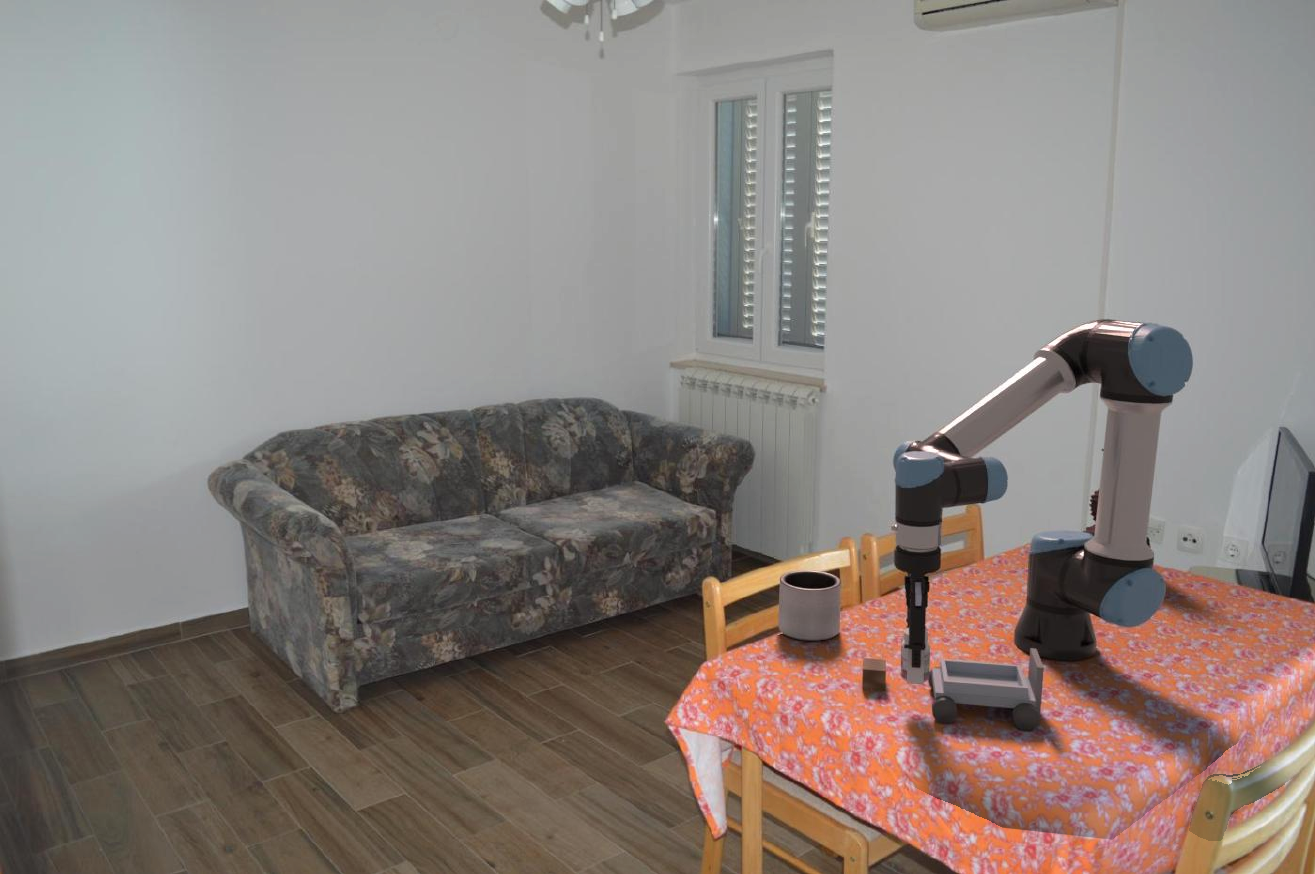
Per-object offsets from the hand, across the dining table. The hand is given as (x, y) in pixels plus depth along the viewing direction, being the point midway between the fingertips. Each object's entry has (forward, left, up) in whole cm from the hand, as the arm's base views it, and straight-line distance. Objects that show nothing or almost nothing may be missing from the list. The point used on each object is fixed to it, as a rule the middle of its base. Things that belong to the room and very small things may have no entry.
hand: (914, 675), depth 173 cm
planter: (+20, -32, -6) cm, 38 cm away
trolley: (-11, -3, -6) cm, 13 cm away
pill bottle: (0, 0, -1) cm, 1 cm away
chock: (+7, -9, -6) cm, 12 cm away
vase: (-49, -83, -6) cm, 96 cm away
